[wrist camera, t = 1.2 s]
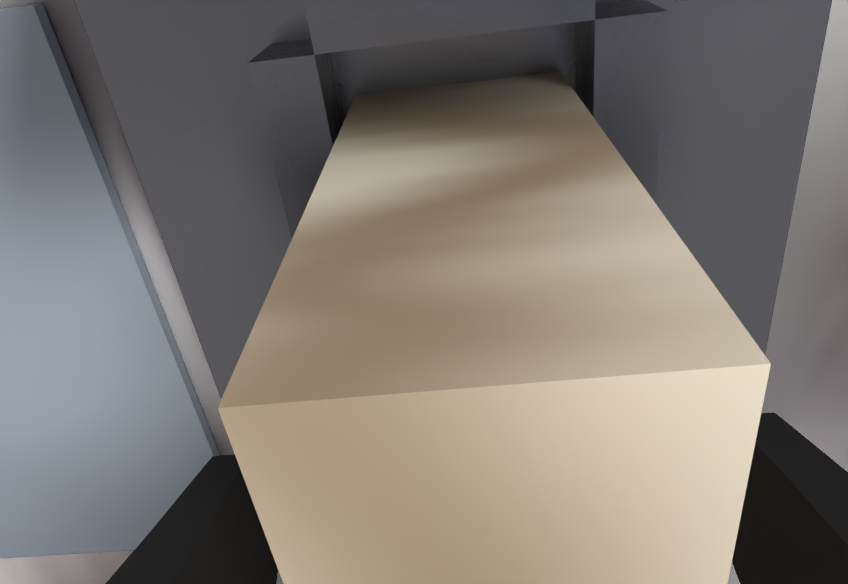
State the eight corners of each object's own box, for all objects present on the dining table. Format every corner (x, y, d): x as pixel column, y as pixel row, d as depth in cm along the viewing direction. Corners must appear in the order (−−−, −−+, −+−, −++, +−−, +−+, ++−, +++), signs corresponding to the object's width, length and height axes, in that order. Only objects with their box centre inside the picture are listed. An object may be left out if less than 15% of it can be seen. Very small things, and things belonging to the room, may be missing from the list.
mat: (42, 3, 11) (33, 5, 11) (251, 533, 18) (248, 542, 18) (-370, 59, 12) (-388, 62, 12) (-13, 550, 19) (-19, 559, 19)
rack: (867, -365, 9) (2398, -1327, 2) (695, 651, 21) (815, 1002, 14) (20, -225, 10) (-970, -529, 3) (332, 667, 22) (285, 1004, 15)
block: (560, 71, 11) (770, 363, 4) (565, 485, 16) (660, 927, 9) (355, 95, 11) (216, 408, 4) (424, 495, 16) (413, 930, 9)
